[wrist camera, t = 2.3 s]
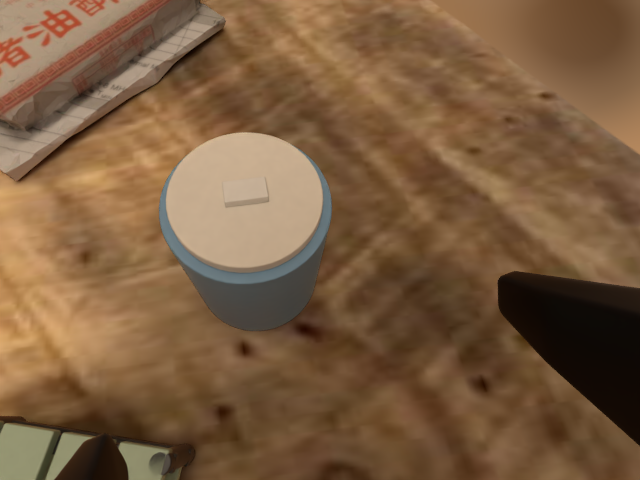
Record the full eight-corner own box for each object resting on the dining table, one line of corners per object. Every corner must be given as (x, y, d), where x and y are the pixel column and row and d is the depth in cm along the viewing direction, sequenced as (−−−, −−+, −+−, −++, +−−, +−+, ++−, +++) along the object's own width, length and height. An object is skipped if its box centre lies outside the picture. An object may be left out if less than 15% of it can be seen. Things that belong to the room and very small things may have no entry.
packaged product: (112, -100, 28) (219, -33, 26) (135, -30, 33) (228, 32, 31) (-159, 33, 22) (-41, 135, 20) (-84, 99, 26) (17, 187, 24)
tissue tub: (323, 231, 25) (345, 133, 16) (306, 340, 22) (320, 290, 14) (216, 213, 25) (181, 104, 16) (184, 320, 22) (123, 256, 13)
